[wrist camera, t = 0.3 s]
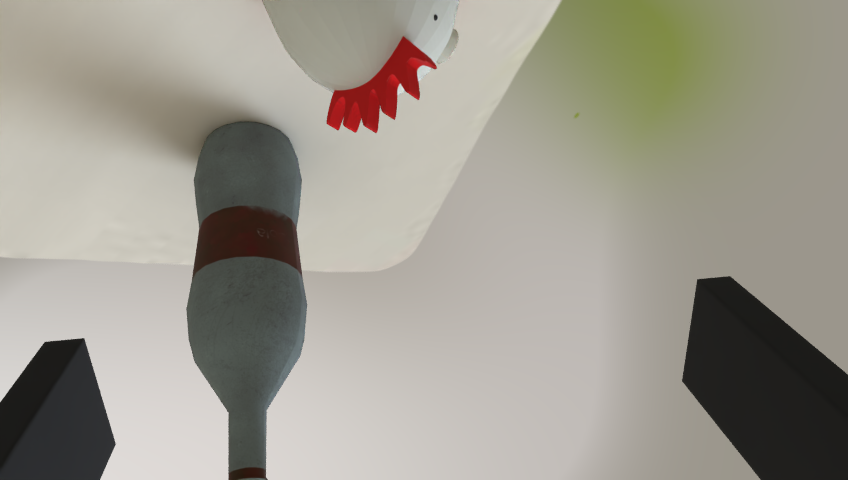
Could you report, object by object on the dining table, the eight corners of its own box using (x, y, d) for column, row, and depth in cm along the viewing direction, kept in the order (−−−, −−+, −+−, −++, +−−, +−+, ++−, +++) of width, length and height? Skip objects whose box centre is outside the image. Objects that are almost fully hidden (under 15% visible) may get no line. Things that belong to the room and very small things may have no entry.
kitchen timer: (496, -45, 47) (544, 114, 39) (361, 64, 54) (379, 216, 46) (355, -196, 37) (381, -25, 29) (213, -39, 44) (204, 132, 36)
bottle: (210, 183, 64) (196, 506, 49) (183, 121, 57) (156, 482, 41) (306, 175, 65) (321, 489, 50) (293, 112, 57) (306, 462, 42)
